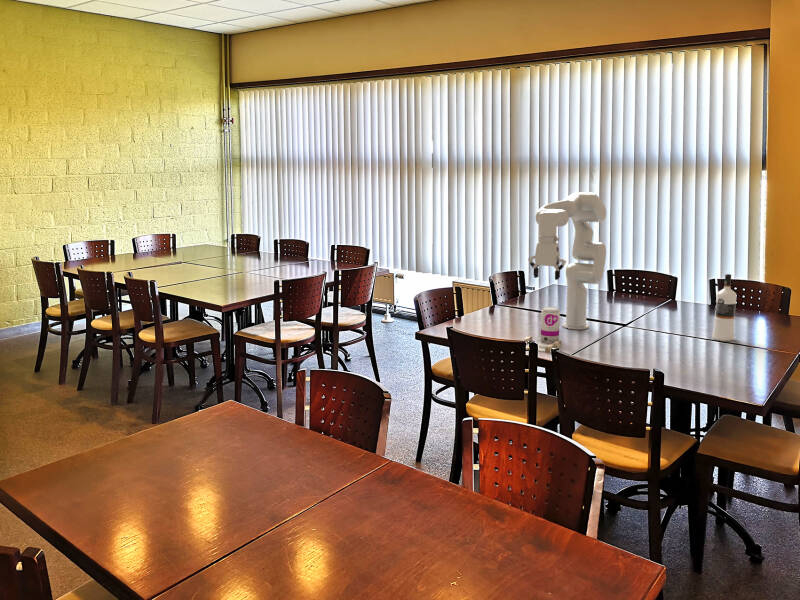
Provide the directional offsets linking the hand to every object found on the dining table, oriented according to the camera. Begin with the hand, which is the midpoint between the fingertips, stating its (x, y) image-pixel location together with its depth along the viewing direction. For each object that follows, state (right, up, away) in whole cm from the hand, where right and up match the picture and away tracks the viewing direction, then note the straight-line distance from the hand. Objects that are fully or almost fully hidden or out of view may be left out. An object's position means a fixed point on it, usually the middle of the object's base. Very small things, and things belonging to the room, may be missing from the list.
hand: (546, 278), depth 322 cm
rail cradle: (-3, -30, +1) cm, 30 cm away
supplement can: (+4, -28, +11) cm, 30 cm away
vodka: (+83, -28, +11) cm, 88 cm away
